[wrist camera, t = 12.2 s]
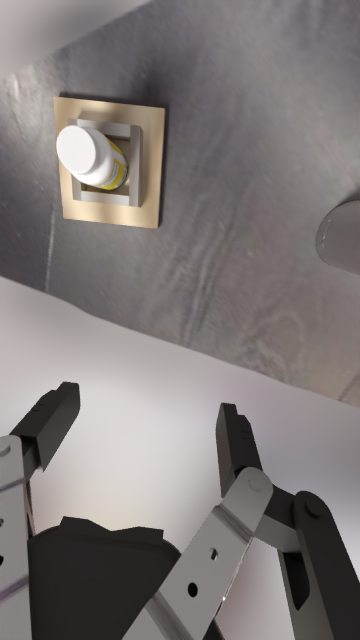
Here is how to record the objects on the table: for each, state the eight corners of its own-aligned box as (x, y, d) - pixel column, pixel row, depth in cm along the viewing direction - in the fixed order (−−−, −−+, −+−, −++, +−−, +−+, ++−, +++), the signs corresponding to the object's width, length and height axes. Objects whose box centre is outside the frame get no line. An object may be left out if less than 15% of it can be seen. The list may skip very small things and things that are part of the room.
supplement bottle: (85, 147, 31) (41, 119, 22) (125, 141, 31) (96, 110, 22) (95, 193, 34) (58, 184, 25) (132, 188, 33) (108, 177, 24)
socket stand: (165, 111, 30) (162, 101, 28) (158, 228, 36) (155, 229, 33) (57, 100, 30) (43, 88, 28) (66, 218, 36) (56, 217, 33)
